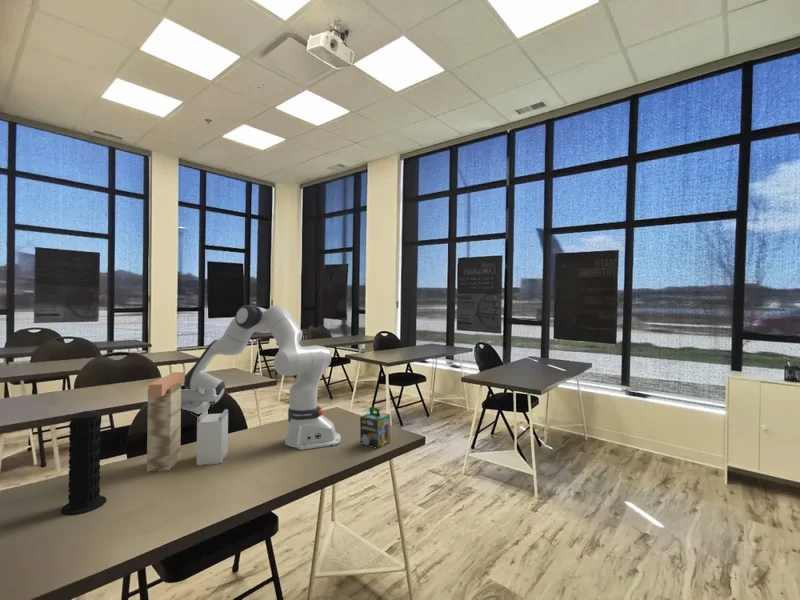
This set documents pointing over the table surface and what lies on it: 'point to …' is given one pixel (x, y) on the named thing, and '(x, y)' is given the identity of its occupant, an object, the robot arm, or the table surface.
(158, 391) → the shaft
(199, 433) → the yoke block
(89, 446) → the handle grip
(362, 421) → the chalk box
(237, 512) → the table surface
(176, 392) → the block
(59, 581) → the table surface
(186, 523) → the table surface
